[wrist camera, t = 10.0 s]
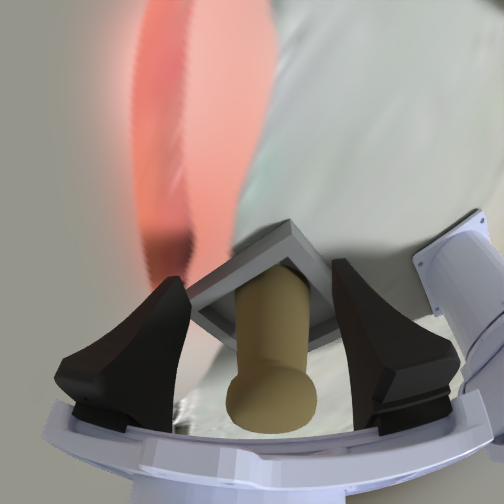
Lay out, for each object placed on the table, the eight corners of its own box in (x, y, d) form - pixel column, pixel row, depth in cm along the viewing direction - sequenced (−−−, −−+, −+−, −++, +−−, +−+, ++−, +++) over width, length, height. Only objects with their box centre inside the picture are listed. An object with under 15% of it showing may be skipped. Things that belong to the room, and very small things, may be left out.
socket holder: (360, 307, 23) (365, 324, 21) (263, 354, 27) (263, 370, 26) (290, 218, 19) (292, 233, 17) (182, 291, 23) (176, 308, 21)
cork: (248, 325, 24) (238, 443, 15) (222, 273, 21) (195, 410, 12) (316, 311, 23) (331, 435, 14) (302, 255, 20) (319, 400, 10)
